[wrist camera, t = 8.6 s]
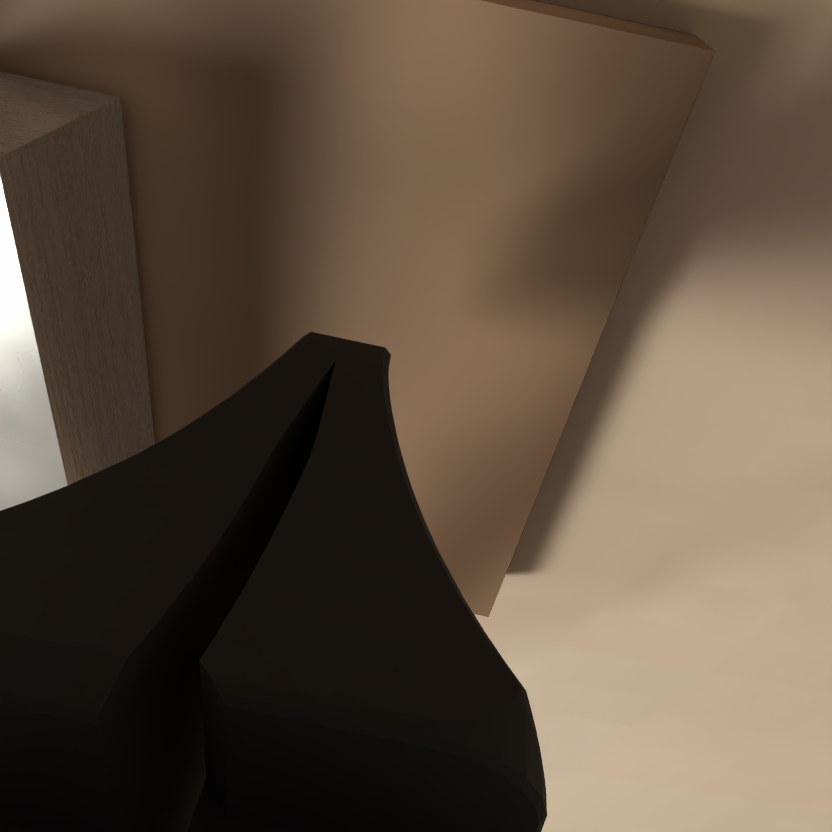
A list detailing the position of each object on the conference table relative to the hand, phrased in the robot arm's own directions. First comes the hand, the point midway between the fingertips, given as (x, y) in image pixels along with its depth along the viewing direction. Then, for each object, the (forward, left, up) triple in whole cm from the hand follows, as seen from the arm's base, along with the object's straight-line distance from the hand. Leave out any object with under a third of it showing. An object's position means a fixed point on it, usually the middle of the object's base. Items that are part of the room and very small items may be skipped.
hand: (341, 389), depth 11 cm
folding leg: (-6, -3, -3) cm, 8 cm away
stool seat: (-3, -2, -5) cm, 6 cm away
